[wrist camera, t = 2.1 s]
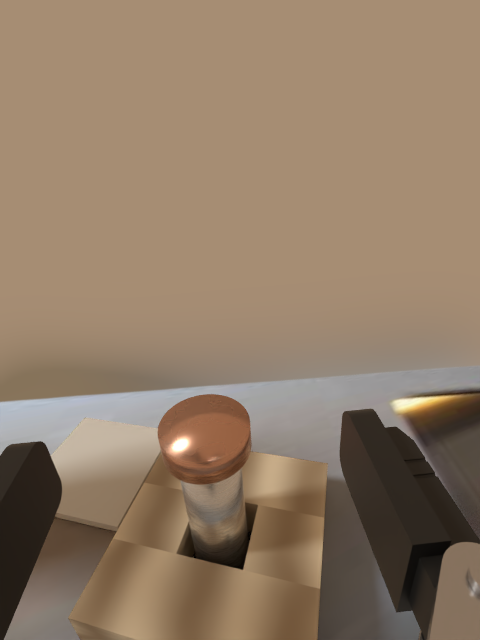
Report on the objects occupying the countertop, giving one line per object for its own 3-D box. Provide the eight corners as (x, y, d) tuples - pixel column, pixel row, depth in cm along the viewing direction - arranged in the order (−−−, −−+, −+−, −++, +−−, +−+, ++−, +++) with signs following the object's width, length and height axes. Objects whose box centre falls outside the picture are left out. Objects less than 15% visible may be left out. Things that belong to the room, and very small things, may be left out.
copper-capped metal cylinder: (176, 587, 29) (140, 452, 22) (202, 517, 34) (179, 390, 27) (250, 606, 27) (236, 469, 20) (265, 530, 32) (258, 399, 26)
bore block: (84, 646, 26) (68, 618, 24) (174, 465, 39) (169, 438, 38) (311, 722, 22) (313, 696, 20) (325, 492, 35) (327, 463, 34)
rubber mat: (13, 507, 36) (10, 501, 36) (86, 422, 46) (84, 417, 46) (119, 532, 33) (117, 526, 33) (172, 435, 43) (171, 430, 43)
